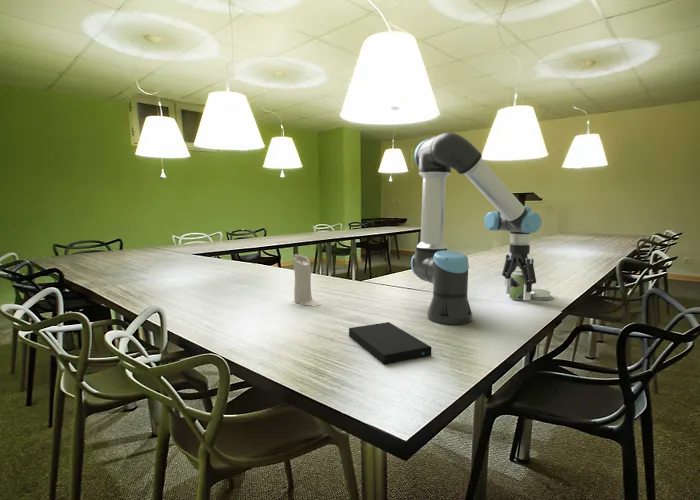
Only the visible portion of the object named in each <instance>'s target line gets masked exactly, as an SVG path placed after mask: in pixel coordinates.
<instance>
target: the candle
mask: <svg viewBox="0 0 700 500" xmlns="http://www.w3.org/2000/svg"><path fill="white" fill-rule="evenodd" d="M293 270H294V290H293V291H294V292H293V293H294V295H293V296H294V297H293V298H294V302H295V303H296V304H298V305H299V304H300V305H303V306H308V307H317V306H320V305H321V304H320V303H319V302H318V301H317V300H315V299H313V296H312V287H311V286H312V284H311V283H312V282H311V280H312V279H311V277H312V276H311V274H312V271H311V260H310V259H309V256H303V254H297V253H295V254H293Z"/></svg>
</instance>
